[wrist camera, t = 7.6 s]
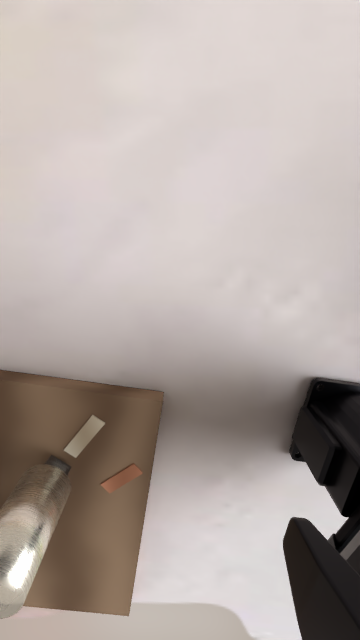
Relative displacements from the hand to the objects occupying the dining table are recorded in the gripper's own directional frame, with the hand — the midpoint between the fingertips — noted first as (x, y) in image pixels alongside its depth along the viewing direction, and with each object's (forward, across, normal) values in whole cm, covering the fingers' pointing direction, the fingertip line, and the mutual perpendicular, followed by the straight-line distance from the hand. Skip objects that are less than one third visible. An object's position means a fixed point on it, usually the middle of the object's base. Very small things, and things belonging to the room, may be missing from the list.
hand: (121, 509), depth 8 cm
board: (+12, +10, +14) cm, 21 cm away
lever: (+10, +9, +16) cm, 21 cm away
